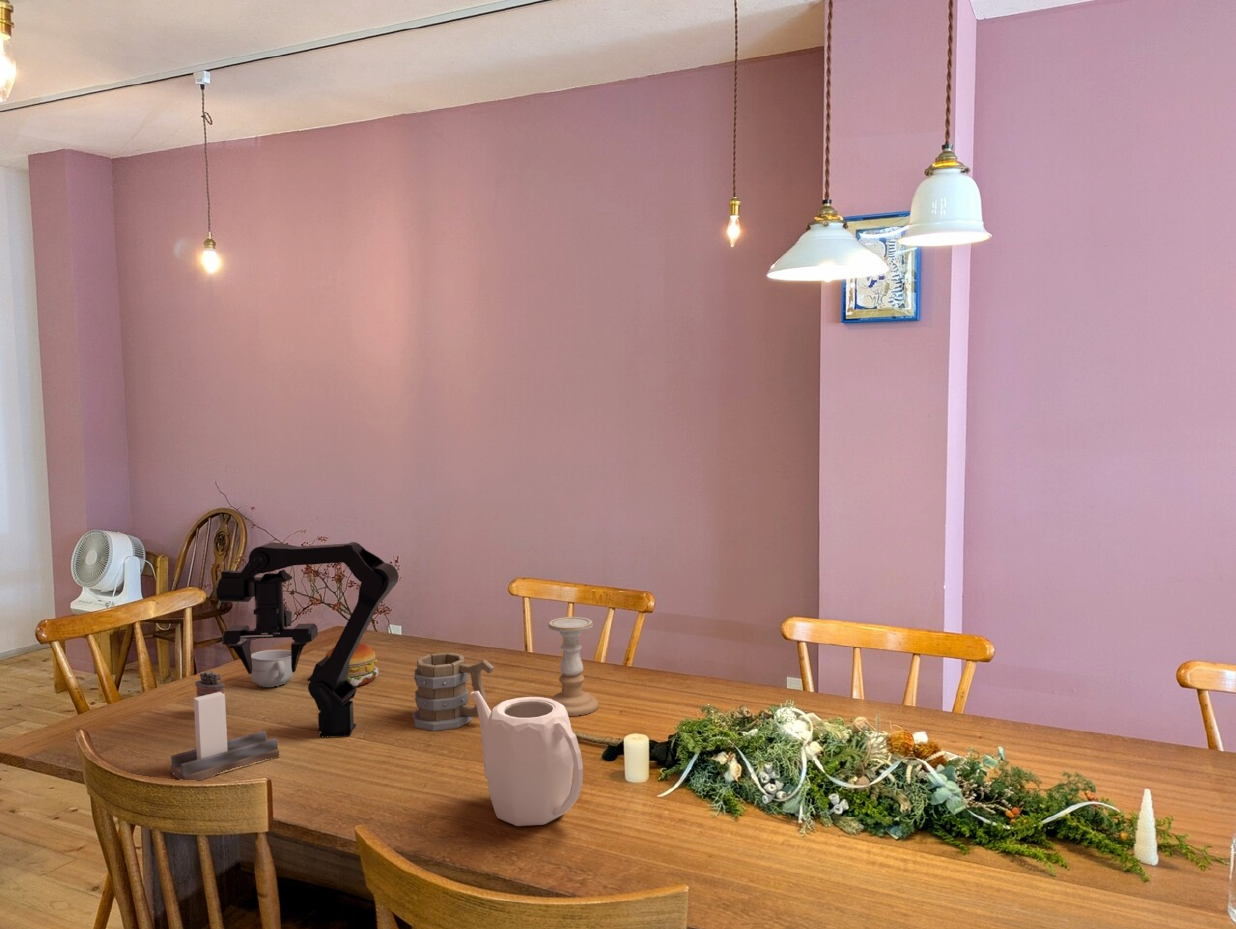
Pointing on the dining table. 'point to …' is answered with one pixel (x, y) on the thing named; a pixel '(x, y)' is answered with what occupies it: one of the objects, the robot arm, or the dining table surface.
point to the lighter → (209, 684)
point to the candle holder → (573, 667)
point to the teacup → (271, 667)
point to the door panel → (210, 724)
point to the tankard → (446, 691)
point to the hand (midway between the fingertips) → (272, 672)
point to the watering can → (529, 759)
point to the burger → (361, 665)
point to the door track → (225, 757)
